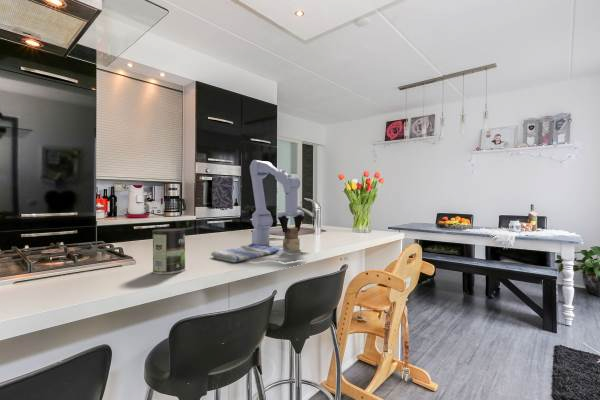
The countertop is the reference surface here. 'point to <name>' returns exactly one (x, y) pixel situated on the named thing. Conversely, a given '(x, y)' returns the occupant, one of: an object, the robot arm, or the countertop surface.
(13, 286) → the countertop surface
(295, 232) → the walnut block
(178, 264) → the coffee can
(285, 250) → the board
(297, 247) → the oak base block
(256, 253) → the dish towel
